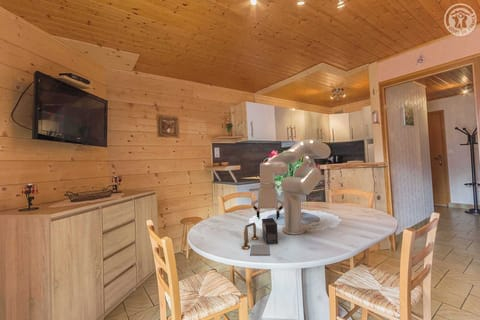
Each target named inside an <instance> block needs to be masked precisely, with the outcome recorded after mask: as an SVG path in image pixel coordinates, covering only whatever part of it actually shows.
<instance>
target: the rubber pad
mask: <svg viewBox="0 0 480 320" xmlns="http://www.w3.org/2000/svg"><path fill="white" fill-rule="evenodd" d="M249 256H251V257H252V256H254V257H255V256H258V257H259V256H262V257H264V256H265V257H267V256H269V257H270V256H271V247H270V244H269V245H267V244H251V245H250V253H249Z"/></svg>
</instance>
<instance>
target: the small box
mask: <svg viewBox="0 0 480 320" xmlns="http://www.w3.org/2000/svg"><path fill="white" fill-rule="evenodd" d="M261 225H262V238H263V240H264V242H265V245H269V246H270V245H277V244H279V237H278V235H279V233H278V223H277V222H276V220H275V219H274V217H270V218H269V217H268V218H262V219H261Z"/></svg>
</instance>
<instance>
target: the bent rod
mask: <svg viewBox="0 0 480 320" xmlns="http://www.w3.org/2000/svg"><path fill="white" fill-rule="evenodd" d="M251 226H252V228H253V234H252V235H253V236H251V237H250V239H251V240H253V241H257V240H259V238H260V237H259V236H258V235H257V228H256V226H257V224H256V223H255V222H252V223H249V224H246V225H245V226H244V230H243V243H244V245H242V246H241V249H242V250H247V251H248V250H251V245H249V244H248V243H249V230H248V228H249V227H251Z"/></svg>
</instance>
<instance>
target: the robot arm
mask: <svg viewBox="0 0 480 320" xmlns="http://www.w3.org/2000/svg"><path fill="white" fill-rule="evenodd" d="M331 152H332V151H331V148H330V146H329V145H328V144H327V143H324V142H321V141H320V140H318V139H315V138H310V139H301V140H299V141H297V142H296V143H295V144H293V145H292V146H291V147H290V148H288V149H287V150H285V151H283V152H282V151H281V152H280V153H278V154H276V155H273V156H272V157H270V158H269V159H268V160H266V162H261V163H260V164H259V184H260V186H259V188H258V191H257V199H255V200H254V201H252V202H251V203H250V204H251V206H252V208H253V209H254V210H255V212H256V218H258V220H261V218H260V217H261V216H260V214H261V213H260V210H261V209H275V211H276V220H279V218H280V211H282V209H284V210H283V211H284V226H283V227H282V232H283V233H284V234H286V235H290V236H291V235H292V236H293V235H294V236H295V235H296V236H297V235H302V234H304V233H305V232H306V231H305V229H311V225H310V224H308V223H307V224H305V223H303V221H302V201H301V197H300V195H301V196H306V195H307V196H308V195H310V194H311V192H312V191H313V190H314V189H315V188H316V187H317V185H318V184H319V183H320V181H321V179H322V172H321V170H320V169H319V168H318V167H317V164H316V162H315V159H316V160H317V159H319V160H320V159H328V158H329V157H330V156H331ZM301 158H303V162H302V163H301V164H300V165H299V166H298V167H297V168H296V169H295V170H294V173H293V174H292V175H293V176H287V177H285V178H283V179H282V181H281V189H282V193H283V194H282V195H283V201H282V200H280V199H279V198H278V192H277V188H276V187H278V183H275V176H278V177H279V176H280V177H283V176H285V175H287V173H288V171H289V166H288V165H292V164H294V163H295V164H296V163H297V162H298V161H299V160H301ZM255 204H257V206H256V205H255ZM278 204H280V206H278Z"/></svg>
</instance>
